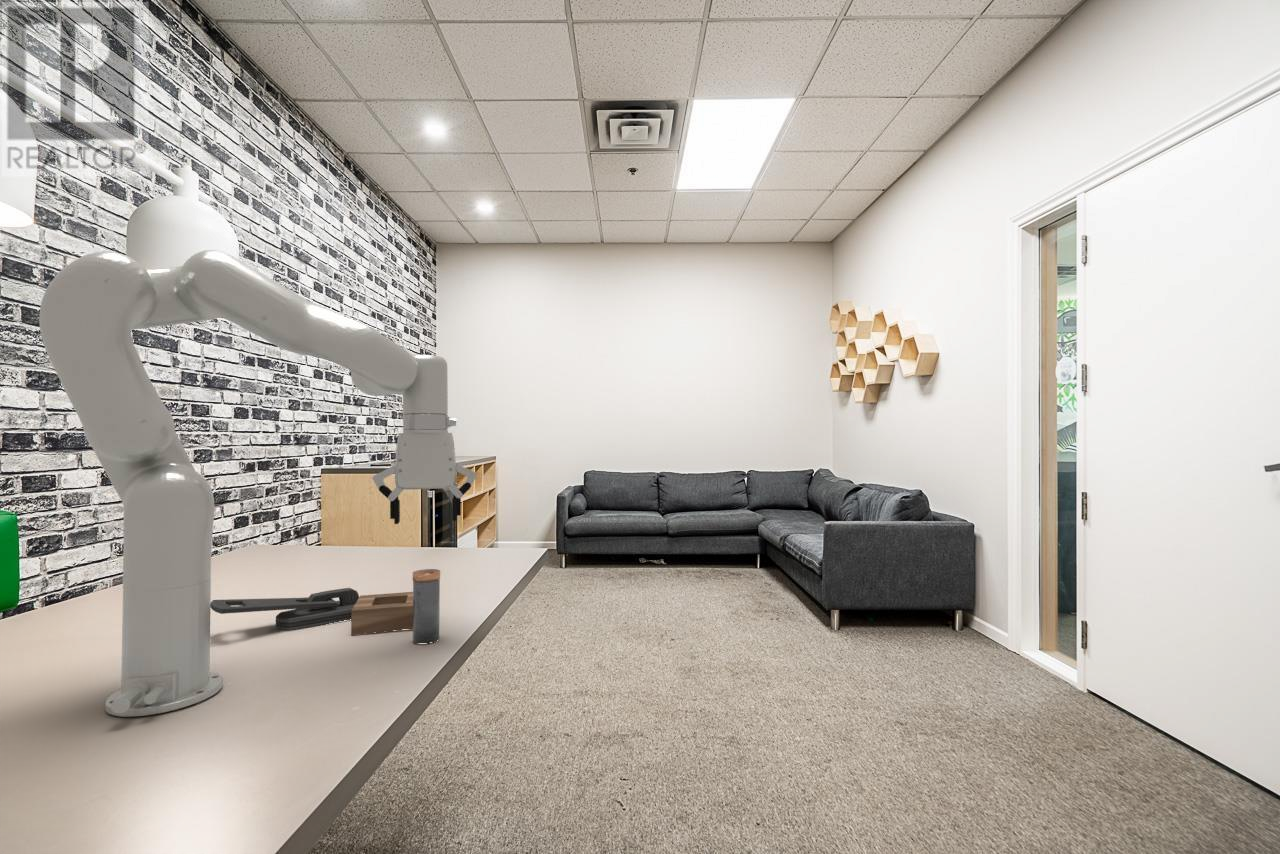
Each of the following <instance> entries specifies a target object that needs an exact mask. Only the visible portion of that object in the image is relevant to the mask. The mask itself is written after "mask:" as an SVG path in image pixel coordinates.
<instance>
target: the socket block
mask: <svg viewBox="0 0 1280 854" xmlns="http://www.w3.org/2000/svg"><path fill="white" fill-rule="evenodd" d="M350 622H351V623H350V626H351V627H350V628H351V631H350V635H352V636H356V635H355V634H363V635H365V634H364V633H374V632H384V631H393V630H402V629H413V591H408V592H407V591H404V592H396V593H395V592H393V593H392V592H390V593H379V594H378V593H377V594H366V595H365V594H361V595H360V596H359V598H358V600H357V602H356V604H355V605H354V607H353V609H352V610H351V620H350ZM374 634H375V633H374Z"/></svg>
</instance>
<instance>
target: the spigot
mask: <svg viewBox="0 0 1280 854" xmlns="http://www.w3.org/2000/svg"><path fill="white" fill-rule="evenodd" d="M440 580H441V570H440V569H435V568H426V569H420V570H418V569H417V570H414V571H413V572H412V581H413V582H412V583H413V584H412V585H413V586H412V592H413V630H412V643H413V642H414V643H430V642H434V641H437V640H438V639H439V640H440V599H441V597H440V595H441V593H440V591H441V590H440V585H441V584H440V582H441V581H440ZM437 642H438V641H437ZM414 643H413V644H414Z"/></svg>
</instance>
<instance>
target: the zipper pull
mask: <svg viewBox="0 0 1280 854" xmlns="http://www.w3.org/2000/svg"><path fill="white" fill-rule="evenodd" d="M359 595H360V594H359V593H358V591H357V590H356V589H353V588H351V587H345V588H338V589H330V590H324V591H319V592H315V593H311V594H310V595H309V596H307V597H280V598H279V597H277V598H275V597H274V598H241V599H240V598H239V599H238V598H234V599H232V598H230V599H213V600H211V606H210V610H212V611H214V612H215V613H218V614H220V615H223V614H224V615H225V614H238V613H241V614H242V613H255V612H268V611H280V612H279V613H277V615H276V616H275V628H276V629H277V630H278V631H287V632H293V631H299V630H305V629H310V628H311V629H312V628H317V627H320V626H321V625H322V626H326V624H328V625H330V624H329V623H333V624H335V623H334V622H339V621H344V620H350V619H351V610H352V609H353V607H354V605H355V604H356V602H357V600H358V598H359V597H360V596H359ZM337 598H338V600H334V599H337ZM282 610H285V611H282ZM350 621H351V620H350ZM339 623H340V622H339Z"/></svg>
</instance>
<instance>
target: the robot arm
mask: <svg viewBox="0 0 1280 854" xmlns="http://www.w3.org/2000/svg"><path fill="white" fill-rule="evenodd" d="M38 316H39V318H38V321H39V331H40V337H41V340H42V344H43V346H44V348H45V351H46V355H47V357H48V359H49V361H50V363H51V364H52V367H53V369H54V372H55V373H56V375H57V377H58V379H59V381H60V383H61V386H62V387H63V390H64V392H65V393H66V395H67V397H68V399H69V401H70V403H71V404H72V407H73V409H74V411H75V412H76V415H77V416H78V418H79V421H80V423H81V425H82V428H83V432H84V433H83V434H84V437H85V439H86V441H87V443H88V444H89V446H90V447H91V448H92V450H93V451H94V453H95V455H96V457H97V459H98V461H99V462H100V465H101V466H102V469H103V470H104V472H105V473H106V475H107V478H108V479H109V481H110V483H111V485H112V486H113V488H114V490H115V492H116V493H117V495H118V497H119V499H120V501H121V502H122V504H123V550H122V551H123V553H122V554H123V559H122V626H121V627H122V631H121V632H122V633H121V674H120V675H121V677H120V678H121V680H120V681H121V683H120V684H121V685H120V687H121V688H120V689H119V690H117V691H115V692H113V693H112V694H111V695H109V696H108V697H107V698H106V699H105V703H104V704H105V705H104V709H105V710H104V711H105V712H106V713H107V714H109V715H112V716H115V717H122V718H124V717H125V718H126V717H129V718H130V717H131V718H133V717H143V716H144V717H145V716H151V715H152V716H153V715H157V714H163V713H167V712H168V713H169V712H172V711H176V710H179V709H182V708H183V709H184V708H186V707H190V706H193V705H195V704H197V703H200V702H202V701H205V700H207V699H209V698H211V697H212V696H214V695H216V694H217V693H219V691H220V690H221V689H222V688H223V685H224V678H223V676H222V674H219V673H217V672H212V671H210V668H211V667H210V665H211V664H210V663H211V662H210V661H211V659H210V658H211V653H210V652H211V607H210V606H211V602H212V600H211V598H212V597H211V596H212V595H211V593H212V591H211V590H212V589H211V588H212V575H211V574H212V543H213V532H214V520H215V497H214V493H213V490H212V487H211V485H210V483H209V482H208V481H207V480H206V478H205V477H204V476H202V475H201V474H200V473H198V472H197V471H196V470H195V468H194V466H193V463H192V461H191V459H190V458H189V456H188V454H187V452H186V450H185V448H184V446H183V444H182V442H181V440H180V437H179V436H178V434H177V432H176V427H175V426H176V425H175V420H174V417H173V416H172V413H171V412H170V411H169V410H168V408H167V407H166V405H165V404H164V402H163V401H162V399H161V397H160V395H159V393H158V391H156V388H155V387H154V385H153V382H152V381H151V379H150V377H149V375H148V373H147V371H146V369H145V367H144V364H143V362H142V359H141V358H140V355H139V353H138V351H137V349H136V346H135V344H134V342H133V338H132V330H139V329H148V328H156V327H165V326H174V325H182V324H183V325H184V324H191V323H196V322H197V323H198V322H202V321H210V320H215V319H221V318H223V319H225V320H227V321H229V322H231V323H232V324H235V325H237V326H239V327H241V328H243V329H245V330H246V331H248V332H251V333H252V334H254V335H255V336H258V337H259V338H261V339H262V340H264V341H267V342H268V343H271V344H272V345H274V346H276V347H278V348H280V349H282V350H284V351H287V352H291V353H293V354H298V355H305V356H310V357H311V356H312V357H316V358H319V359H323V360H327V361H329V362H332V363H335V364H336V365H338V366H341V367H343V368H345V369H347V370H349V371H350V378H351V381H352V383H353V385H354V386H355V387H356V389H357V390H359V391H360V392H361V393H364V394H365V395H368V396H373V397H381V396H391V395H392V396H393V395H394V396H395V395H402V429H403V430H402V432H400V433H398V436H397V443H396V449H395V463H394V465H392V466H391V467H388V468H386V469H384V470H383V471H381V472H379V473H377V474H375V475H373V476H372V480H373V482H374V484H375V486H376V487H377V489H378V491H379V492H380V493H381V494H382V495H383V496H385V498H387V500H388V501H389V504H390V505H389V506H390V507H389V509H390V510H389V514H390V516H389V518H390V520H393V523H394V525H398V524H400V521H401V509H400V508H401V501H400V500H399V495H400V494H401V493H402V492H403V491H404V490H431V489H432V490H433V489H448V490H449V491H450V492H451V493H452V494H453V496H452V500H451V501H452V502H451V504H452V505H451V506H452V507H451V508H452V513H451V515H452V516H451V517H452V521H453V522H457V521H458V516H461V515H462V514H461V513H462V512H461V510H462V508H461V505H462V503H461V502H462V501H461V498H462V497H463V496H464V495H465V494H466V493H467V491H469V490H470V489H471V487H472V485H473V484H474V482H475V480H476V477H477V473H476V472H475V471H473V470H471V469H468V468H466V467H465V466H462V465H460V464H458V463H456V450H455V449H456V448H455V442H454V436H453V432H449V430H448V429H449V428H451V427H456V426H457V418H452V417H450V416H448V414H449V413H448V410H449V409H448V407H449V406H448V404H449V403H448V402H449V401H448V397H449V396H448V391H449V389H448V387H449V386H448V381H449V380H448V362H447V360H446V359H445V358H444V357H442V356H439V355H436V354H413V355H411V354H410V352H408V350H406V349H405V348H404V347H402V346H401V345H400V344H398V343H396V342H394V341H393V340H392V339H389V338H388V337H386V336H385V335H383V334H381V333H380V332H378V331H377V330H375V329H373V328H371V327H369V326H367V325H365V324H363V323H361V322H359V321H357V320H354V319H353V318H349V317H347V316H345V315H343V314H340V313H337V312H335V311H332V310H331V309H328V308H325V307H323V306H320V305H317V304H315V303H313V302H312V301H310V300H308V299H306V298H304V297H303V296H301V295H299V294H298V293H296V292H295V291H293V290H291V289H289V288H287V287H286V286H284V285H282V284H280V283H279V282H277V281H276V280H273V278H270V277H269V276H267V275H266V274H264V273H262V272H261V271H259V270H258V269H256V268H254V267H252V266H250V265H248V264H247V263H245V262H244V261H242V260H240V259H238V257H235V256H234V255H231V254H229V253H227V252H223V251H221V250H214V249H207V250H203V251H199V252H195V254H193V255H191V256H190V257H189V258H188V259H187V260H186V261H185V262H184V264H183V265H182V266H173V267H164V268H163V267H162V268H149V269H146V268H145V267H144V266H143V264H140V263H139V262H138V261H136V260H135V259H134V258H132V257H130V256H129V255H125V254H123V253H118V252H113V251H96V252H92V253H88V254H84V255H83V256H80V257H78V258H76V259H74V260H72V261H71V262H70V263H69V264H67V265H66V266H65V267H63V268H62V269H61V270H60V271H59V272H58V273H57V274H56V275H55V276H54V278H53V279H52V280H51V281H50V282H49V284H48V286H47V288H46V289H45V290H44V294H43V296H42V299H41V302H40V307H39V315H38ZM457 473H459V474H461V475H463V476H465V477H466V479H465V482H464V483H463V484H462V485H461V486H460V487H458V486H457V485H456V479H457V478H456V477H457ZM392 475H394V482H395V486H396V487H394V489H393V491H392V489H390V488H389V487H388V486H387V484H386V483H385V482H384V480H385V478H388V477H390V476H392Z"/></svg>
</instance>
